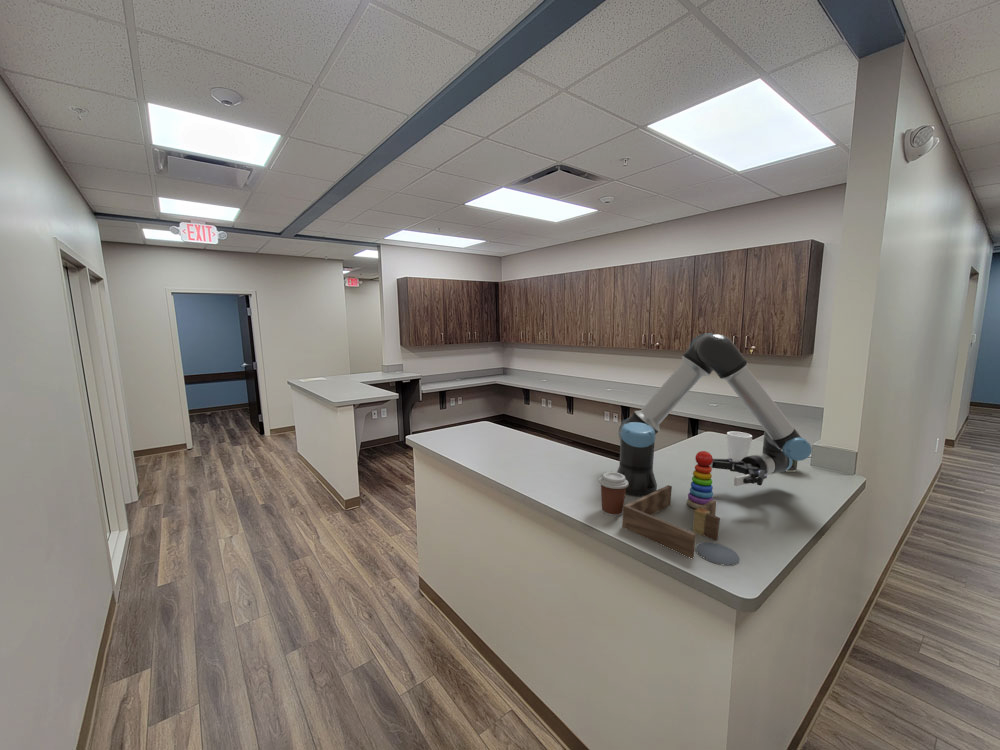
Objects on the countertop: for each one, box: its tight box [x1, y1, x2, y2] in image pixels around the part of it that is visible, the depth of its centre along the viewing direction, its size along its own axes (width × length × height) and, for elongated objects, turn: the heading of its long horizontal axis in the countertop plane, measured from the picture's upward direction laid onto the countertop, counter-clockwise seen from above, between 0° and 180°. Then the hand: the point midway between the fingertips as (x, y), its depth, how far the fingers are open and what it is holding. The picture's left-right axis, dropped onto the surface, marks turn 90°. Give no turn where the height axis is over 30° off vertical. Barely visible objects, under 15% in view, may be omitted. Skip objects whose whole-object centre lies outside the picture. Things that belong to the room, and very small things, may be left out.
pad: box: [695, 541, 740, 566], centre depth 104 cm, size 10×10×1 cm
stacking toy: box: [686, 450, 714, 510], centre depth 131 cm, size 8×8×19 cm
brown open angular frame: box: [621, 484, 721, 559], centre depth 118 cm, size 26×21×6 cm
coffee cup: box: [598, 471, 629, 517], centre depth 127 cm, size 9×9×12 cm
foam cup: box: [726, 431, 753, 462], centre depth 175 cm, size 10×9×13 cm
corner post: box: [692, 508, 710, 537], centre depth 115 cm, size 3×3×6 cm
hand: (716, 474), depth 133 cm, fingers open, 13 cm apart
